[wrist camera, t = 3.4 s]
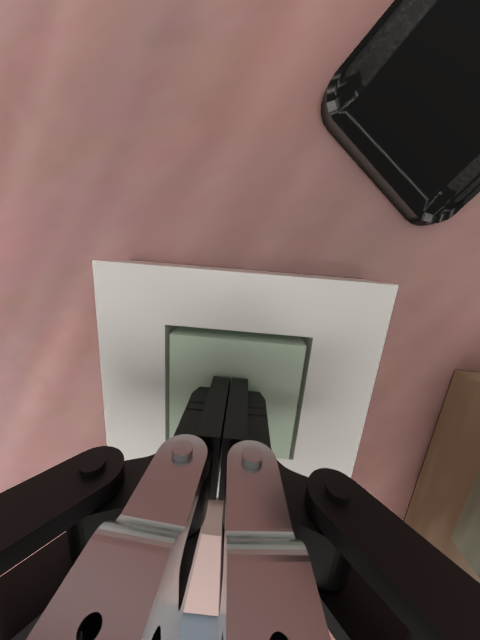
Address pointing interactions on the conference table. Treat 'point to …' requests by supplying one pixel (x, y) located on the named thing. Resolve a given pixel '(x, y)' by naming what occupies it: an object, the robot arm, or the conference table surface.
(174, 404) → the key sage
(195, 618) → the key slate
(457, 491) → the card
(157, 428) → the keypad
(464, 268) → the conference table surface
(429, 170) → the phone
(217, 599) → the key rose
